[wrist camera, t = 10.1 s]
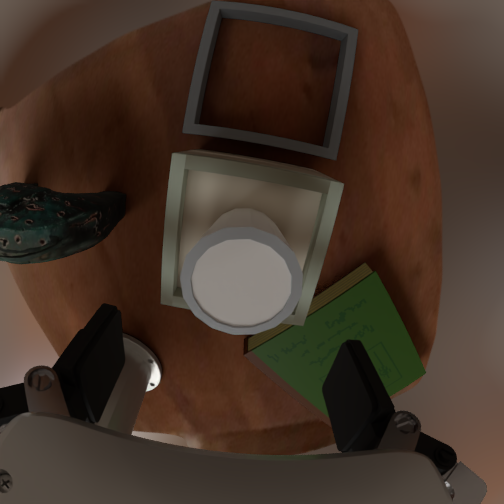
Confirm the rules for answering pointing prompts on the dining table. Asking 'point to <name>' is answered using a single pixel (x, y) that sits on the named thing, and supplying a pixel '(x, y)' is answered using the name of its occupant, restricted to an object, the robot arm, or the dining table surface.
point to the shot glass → (242, 274)
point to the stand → (247, 196)
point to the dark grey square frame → (288, 20)
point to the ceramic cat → (53, 222)
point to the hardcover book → (337, 341)
